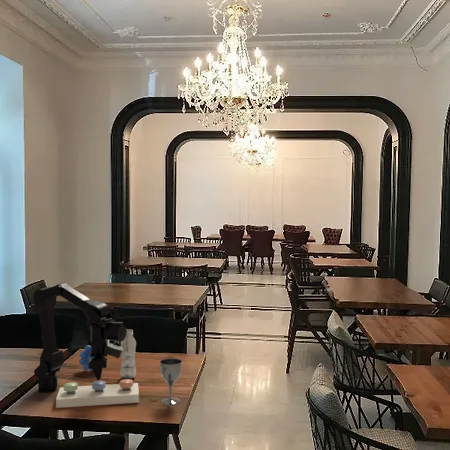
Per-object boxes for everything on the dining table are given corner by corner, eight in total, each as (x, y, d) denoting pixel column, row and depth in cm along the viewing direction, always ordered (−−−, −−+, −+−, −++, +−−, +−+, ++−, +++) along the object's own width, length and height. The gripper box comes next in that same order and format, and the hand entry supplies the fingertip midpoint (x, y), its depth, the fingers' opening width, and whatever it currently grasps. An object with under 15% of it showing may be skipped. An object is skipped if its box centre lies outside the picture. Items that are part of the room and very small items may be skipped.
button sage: (63, 399, 184) (63, 387, 184) (64, 394, 189) (64, 382, 189) (77, 398, 185) (77, 386, 185) (78, 393, 190) (78, 382, 190)
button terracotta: (119, 396, 188) (119, 384, 188) (119, 391, 193) (119, 379, 193) (133, 395, 189) (133, 383, 189) (132, 390, 194) (132, 378, 194)
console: (56, 407, 180) (56, 399, 180) (60, 395, 192) (60, 387, 192) (138, 402, 186) (138, 394, 186) (137, 390, 198) (137, 382, 198)
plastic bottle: (121, 381, 208) (121, 332, 207) (119, 375, 214) (120, 328, 213) (136, 380, 209) (137, 332, 208) (135, 374, 216) (135, 328, 215)
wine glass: (182, 397, 191) (182, 357, 191) (180, 405, 183) (181, 364, 183) (160, 397, 191) (161, 357, 190) (158, 405, 183) (159, 364, 182)
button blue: (91, 397, 186) (91, 385, 186) (92, 392, 191) (92, 381, 191) (105, 396, 187) (105, 385, 187) (106, 391, 192) (106, 380, 192)
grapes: (108, 368, 223) (108, 341, 222) (102, 373, 216) (102, 346, 216) (83, 367, 225) (83, 340, 224) (76, 372, 218) (76, 344, 218)
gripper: (120, 344, 180) (120, 387, 181) (121, 331, 199) (120, 370, 199) (88, 345, 178) (88, 389, 179) (91, 332, 197) (91, 372, 197)
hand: (98, 379), depth 189 cm, fingers closed
